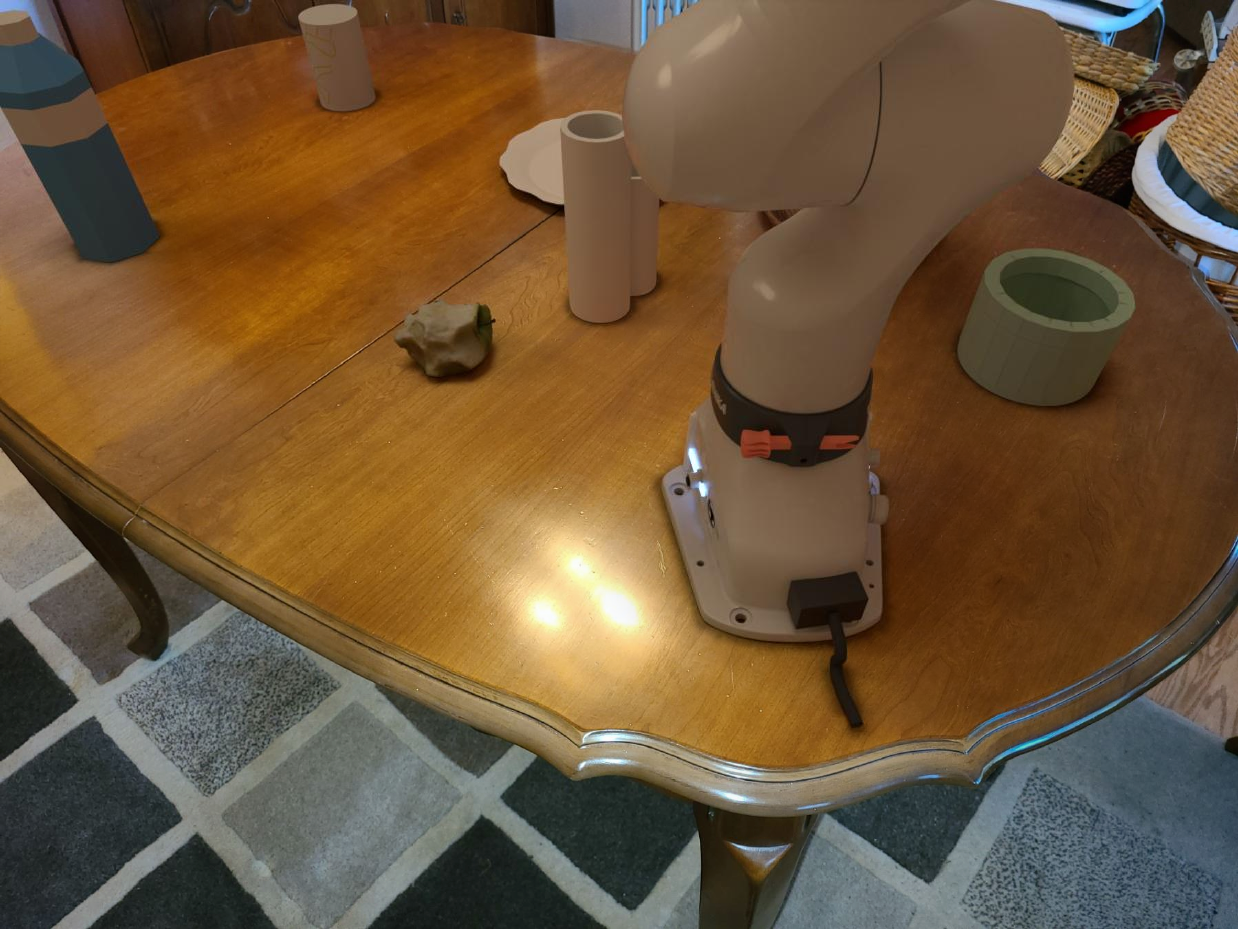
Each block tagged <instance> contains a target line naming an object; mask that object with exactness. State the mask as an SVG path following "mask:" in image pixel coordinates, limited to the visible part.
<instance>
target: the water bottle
mask: <svg viewBox="0 0 1238 929" xmlns="http://www.w3.org/2000/svg"><path fill="white" fill-rule="evenodd" d="M0 109H1V112H2V113H3V115H4V117H5V118H6V121H7V122H8V124H9V126H10V128H11V129H12V131H13V134H14V135H15V137H16V138H17V140H18V142H19V144H20V146H21V148H22V149H23V151H24V154H25V155H26V157H27V159H28V161H29V162H30V164H31V166H32V168H33V169H34V171H35V173H36V175H37V177H38V179H39V180H40V182H41V184H42V186H43V188H44V190H45V191H46V193H47V196H48V197H49V199H50V201H51V203H52V204H53V206H54V208H55V210H56V212H57V213H58V215H59V217H60V219H61V221H62V223H63V224H64V226H65V228H66V230H67V232H68V233H69V235H70V237H71V239H72V240H73V243H74V245H75V246H76V248H77V250H78V252H79V253H80V255H81V257H82V259H83V260H85V261H94V262H103V263H115V262H118V261H121V260H125V259H127V258H131V257H134V256H137V255H141V254H144V253H145V252H146V251H147V250H148V249H149V248H150V247H151V246H152V245H153V244H154V243H155V242H156V241H157V240H158V239H159V238H161V235H160V233H159V231H158V228H157V227H156V224H155V221H154V220H153V218H152V215H151V214H150V211H149V209H148V207H147V205H146V203H145V200H144V198H143V196H142V194H141V191H140V190H139V187H138V185H137V183H136V181H135V178H134V176H133V174H132V172H131V170H130V168H129V165H128V163H127V161H126V159H125V157H124V154H123V152H122V150H121V148H120V146H119V144H118V141H117V139H116V137H115V135H114V133H113V131H112V128H111V126H110V124H109V121H108V120H107V117H106V115H105V113H104V110H103V108H102V106H101V104H100V102H99V100H98V98H97V96H96V93H95V91H94V89H93V87H92V85H91V83H90V81H89V79H88V76H87V74H86V72H85V70H84V68H83V67H82V64H81V63H80V62H79V60H78V59H77V58H76V57H74V56H73V55H71V54H70V53H69V52H67V51H66V50H65V49H62V47H60V46H59V45H57V44H56V43H54V42H52V41H51V40H50V39H49V38H47V37H45V36H44V35H43V34H41V33H40V32H39V31H38V30H37V28H36V25H35V23H34V22H33V20H32V17H31V15H30V14H29V11H28V10H18V9H17V10H16V9H10V10H5V11H0Z"/></svg>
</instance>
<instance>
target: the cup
mask: <svg viewBox="0 0 1238 929" xmlns="http://www.w3.org/2000/svg"><path fill="white" fill-rule="evenodd" d="M297 18H298V21H299V25H300V26H299V27H300V30H301V33H302V37H303V42H304V45H305V49H306V53H307V56H308V60H309V63H310V64H309V65H310V68H311V71H312V75H313V79H314V83H315V88H316V90H317V95H318V98H319V102H320V105H321V106H322V107H323V108H324V109H326V110H328V111H333V112H351V111H358V110H361V109H363V108H366V107H368V106H370V105H371V104H372V103H374V102H375V100H376V92H375V87H374V83H373V79H372V74H371V70H370V64H369V59H368V54H367V50H366V46H365V40H364V37H363V30H362V26H361V21H360V17H359V13H358V10H357V8H355V7H353V6H351V5H347V4H342V3H341V4H340V3H328V4H327V3H326V4H321V5H316V6H312V7H309V8H306V9H304V10H302V11H301V12H300V13H299V14H298V16H297Z"/></svg>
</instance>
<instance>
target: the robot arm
mask: <svg viewBox="0 0 1238 929" xmlns="http://www.w3.org/2000/svg"><path fill="white" fill-rule="evenodd" d="M624 84H625V85H624V90H623V95H622V105H621V115H622V124H623V132H624V138H625V142H626V146H627V149H628V152H629V155H630V157H631V160H632V162H633V164H634V166H635V168H636V170H637V172H638V173H639V175H640V177H641V178H642V179H643V181H644V182H645V184H646V185H647V186H648V187H649V188H650V189H651V191H652V192H653V193H654V194H655V195H656V196H658V197H659V200H661V201H662V202H664V203H669V204H676V205H681V206H687V207H695V208H699V209H707V210H716V211H722V212H723V211H724V212H729V213H730V212H731V213H752V212H765V211H769V210H784V209H800V208H802V209H801V210H800V211H799V212H797V213H796V214H795V215H793V216H792V217H790V218H789V219H787V220H786V221H784V222H782V223H780V224H779V225H777V226H775V227H774V226H773V227H772V228H770V229H768V230H767V231H765V232H764V233H762V234H761V235H759V236H758V237H757V238H756V239H754V240H753V241H752V242H751V243H750V244H749V245H748V246H747V247H746V248H745V249H744V251H743V252H742V254H740V257H739V258H738V260H737V261H736V263H735V265H734V267H733V268H732V271H731V273H730V275H729V276H730V277H729V279H728V286H727V295H726V304H725V311H724V319H723V320H724V321H723V330H722V339H721V342H720V344H719V345H718V347H717V349H716V352H715V355H714V360H713V363H712V366H711V371H710V394H709V395H708V397H706V399H705V400H703V402H702V403H701V404H699V406H697V407H696V408H695V409H694V410H693V411H692V412H691V413H690V414H689V417H688V425H687V432H686V439H685V448H684V454H683V462H682V463H681V464H680V465H678V466H676V467H674V468H672V469H670V470H669V471H668V472H666V473H665V474H664V476H663V477H662V481H661V493H662V497H663V500H664V503H665V506H666V509H667V512H668V516H669V519H670V521H671V525H672V528H673V531H674V535H675V538H676V541H677V544H678V548H679V551H680V554H681V557H682V560H683V564H684V567H685V570H686V573H687V577H688V580H689V583H690V587H691V590H692V592H693V595H694V599H695V602H696V605H697V608H698V611H699V614H700V616H701V618H702V620H703V622H705V623H706V624H709V625H710V626H712V627H714V628H716V629H718V630H720V631H723V632H725V633H727V634H731V635H734V636H736V637H737V636H738V637H742V638H746V639H751V640H757V641H765V642H766V641H767V642H780V643H784V642H785V643H806V642H822V641H831V640H832V644H833V654H832V655H831V656H830V658H829V674H830V679H831V682H832V686H833V689H834V691H835V694H836V696H837V698H838V701H839V703H840V705H841V708H842V709H843V711H844V713H845V716H846V719H847V721H848V723H849V725H850V728H851V729H858V728H861V727H863V725H865V723H864V721H863V718H862V716H861V713H860V712H859V709H858V707H857V705H856V703H855V701H854V699H853V697H852V695H851V692H850V691H849V688H848V684H847V683H846V678H845V675H844V674H845V673H844V667H843V666H844V665H843V664H845V663H846V661H847V657H848V644H847V638H846V637H850V636H853V635H857V634H859V633H862V632H863V631H866V630H867V629H869V628H872V627H873V626H874V625H876V624H877V623H879V622H880V620H881V618H882V613H883V604H884V603H883V601H884V600H883V567H882V566H883V565H882V564H883V561H882V526H883V525H885V524H886V522H887V520H888V515H889V510H890V499H889V497H888V496H887V495H886V494H881V485H880V483H881V482H880V479H879V477H878V476H877V474H875V473H874V472H873V471H871V470H870V467H873V468H878V467H879V466H880V463H881V456H882V454H881V450H880V449H874V448H870V429H871V428H870V427H871V426H870V425H871V422H872V420H873V417H874V414H873V413H872V411H870V410H871V407H872V400H873V391H874V390H873V383H874V371H873V370H874V369H873V364H874V361H875V360H874V359H875V357H876V354H877V351H878V347H879V345H880V341H881V339H882V336H883V333H884V330H885V328H886V325H887V322H888V319H889V317H890V314H891V312H892V309H893V307H894V304H895V303H896V300H897V299H898V296H899V294H900V293H901V291H902V290H903V288H904V286H905V285H906V283H907V282H908V280H909V279H910V278H911V276H912V275H913V273H914V272H915V271H916V270H917V268H918V267H919V266H920V265H921V264H922V262H923V261H924V260H925V258H927V256H928V255H929V254H930V253H931V252H932V251H933V249H934V248H935V247H936V246H937V245H938V244H939V243H941V241H942V240H943V239H944V238H945V237H946V236H947V235H948V234H949V233H950V232H951V231H952V230H953V229H954V228H955V227H956V226H957V225H958V224H959V223H961V222H962V221H963V220H964V219H965V218H966V217H967V216H969V215H970V214H971V213H972V212H973V211H975V210H977V209H978V208H979V207H980V206H981V205H983V204H984V203H986V202H987V201H989V200H990V199H992V198H993V197H995V196H996V195H998V194H999V193H1000V192H1002V191H1004V190H1006V189H1008V188H1009V187H1011V186H1013V185H1015V184H1016V183H1019V182H1020V181H1022V180H1024V179H1026V178H1028V177H1029V176H1031V174H1033V173H1035V171H1036V170H1037V169H1038V168H1039V167H1040V166H1041V165H1042V164H1043V162H1044V161H1045V160H1046V159H1047V158H1048V156H1049V155H1050V154H1051V152H1052V150H1053V149H1054V147H1055V145H1056V144H1057V143H1058V141H1059V139H1060V137H1061V135H1062V133H1063V131H1064V129H1065V127H1066V126H1067V125H1066V124H1067V122H1068V119H1069V116H1070V112H1071V110H1072V105H1073V100H1074V93H1075V69H1074V61H1073V56H1072V52H1071V48H1070V46H1069V44H1068V40H1067V38H1066V36H1065V34H1064V32H1063V31H1062V28H1061V27H1060V25H1059V24H1058V22H1057V21H1056V20H1055V19H1054V18H1053V17H1052V16H1051V15H1050V14H1049V13H1047V12H1046V11H1044V10H1041V9H1037V8H1032V7H1028V6H1025V5H1020V4H1016V3H1011V2H1006V1H1001V0H697V1H695V2H694V3H692V4H691V5H689V6H688V7H687V8H685V9H684V10H682V11H681V12H680V13H678V14H676V15H674V16H673V17H671V18H670V19H668V20H665V21H664V22H663V23H661V24H659V25H657V26H656V27H655V28H654V29H653V31H652V32H651V33H650V34H649V35H648V37H647V38H646V39H645V41H644V43H643V44H642V45H641V47H640V48H639V50H638V52H637V54H636V55H635V57H634V59H633V61H632V64H631V66H630V68H629V71H628V74H627V78H626V81H625V83H624ZM737 620H743V621H744V622H739V621H737Z"/></svg>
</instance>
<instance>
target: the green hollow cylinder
mask: <svg viewBox="0 0 1238 929" xmlns="http://www.w3.org/2000/svg"><path fill="white" fill-rule="evenodd" d="M1135 300H1136V299H1135V294H1134V292H1133V291H1132V289H1131V288H1130V287H1129V286H1128V284H1127V283H1126V281H1125V280H1124V279H1123V278H1121V277H1120V276H1119V275H1117V274H1116V273H1115V272H1114V271H1113V270H1111V269H1110V268H1108V267H1106V266H1105V265H1102V264H1100V263H1098V262H1096V261H1095V260H1092V259H1089V258H1087V257H1085V256H1081V255H1079V254H1075V253H1071V252H1068V251H1065V250H1064V251H1063V250H1057V249H1051V248H1019V249H1015V250H1010V251H1006V252H1003V253H1002V254H1000V255H998V256H996V257H995V258H992V260H991V261H990V263H988V265H987V266H986V267H985V269H984V271H983V274H982V277H981V280H980V281H979V285H978V287H977V290H976V292H975V296H974V298H973V301H972V304H971V306H970V309H969V312H968V315H967V317H966V319H965V322H964V325H963V328H962V330H961V333H960V335H959V338H958V339H959V340H958V344H957V349H956V350H957V351H956V352H957V358H958V361H959V363H960V365H961V367H962V368H963V370H964V371H965V373H966V374H967V375H968V376H969V377H970V378H971V379H972V380H973V381H974V382H976V384H978V385H979V386H981V387H982V388H984V389H985V390H987V391H988V392H990V393H992V394H994V395H997V396H998V397H1001V398H1004V399H1007V400H1009V401H1012V402H1016V403H1019V404H1024V405H1029V406H1037V407H1057V406H1063V405H1068V404H1071V403H1074V402H1077V401H1079V400H1080V399H1082V398H1084V397H1086V396H1087V395H1088V394H1089V392H1091V390H1092V389H1093V387H1094V386H1095V384H1096V382H1097V380H1098V378H1099V376H1100V375H1101V373H1102V371H1103V369H1104V367H1105V365H1106V364H1107V362H1108V360H1109V358H1110V356H1111V354H1112V353H1113V351H1114V349H1115V347H1116V345H1117V344H1118V342H1119V340H1120V338H1121V336H1122V334H1123V332H1124V331H1125V329H1126V328H1127V326H1128V324H1129V322H1130V320H1131V318H1132V317H1133V314H1134V311H1135V310H1136V301H1135Z"/></svg>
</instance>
